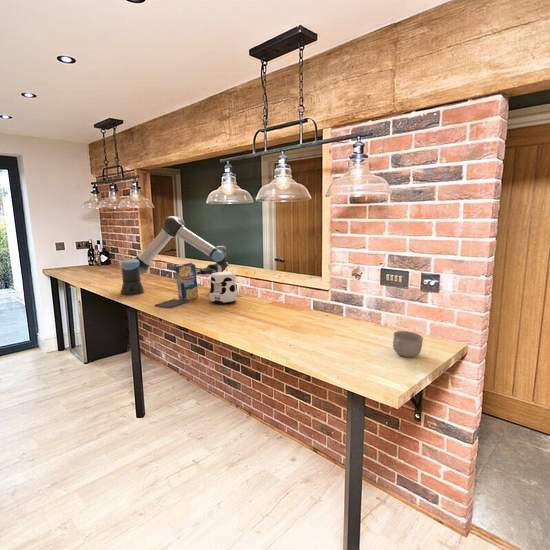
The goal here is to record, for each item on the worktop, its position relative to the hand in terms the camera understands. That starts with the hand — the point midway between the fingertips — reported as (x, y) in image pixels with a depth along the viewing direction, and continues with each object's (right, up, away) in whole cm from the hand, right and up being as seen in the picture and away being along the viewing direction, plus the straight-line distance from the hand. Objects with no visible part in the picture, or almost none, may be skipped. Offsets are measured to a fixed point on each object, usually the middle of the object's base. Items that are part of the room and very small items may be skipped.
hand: (193, 273), depth 238 cm
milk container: (+21, -18, -9) cm, 29 cm away
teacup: (+104, -32, -97) cm, 146 cm away
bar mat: (-10, -19, -14) cm, 25 cm away
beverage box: (-3, -16, 0) cm, 16 cm away
